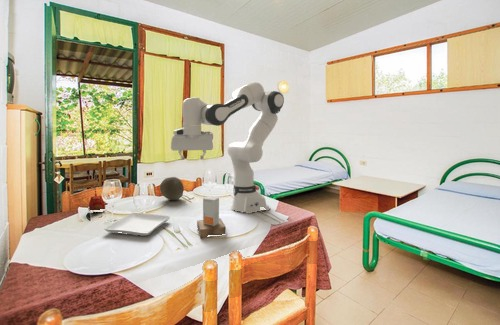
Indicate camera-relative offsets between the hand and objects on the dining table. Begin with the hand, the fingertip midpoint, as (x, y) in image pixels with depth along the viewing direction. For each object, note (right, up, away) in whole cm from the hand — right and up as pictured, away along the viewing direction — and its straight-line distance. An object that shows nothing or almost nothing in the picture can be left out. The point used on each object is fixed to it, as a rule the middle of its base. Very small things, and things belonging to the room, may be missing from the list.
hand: (192, 159), depth 127 cm
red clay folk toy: (-55, -29, +13) cm, 63 cm away
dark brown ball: (-21, -26, +37) cm, 50 cm away
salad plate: (-23, -33, -7) cm, 41 cm away
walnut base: (+11, -33, -11) cm, 36 cm away
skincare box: (+11, -29, -11) cm, 33 cm away
